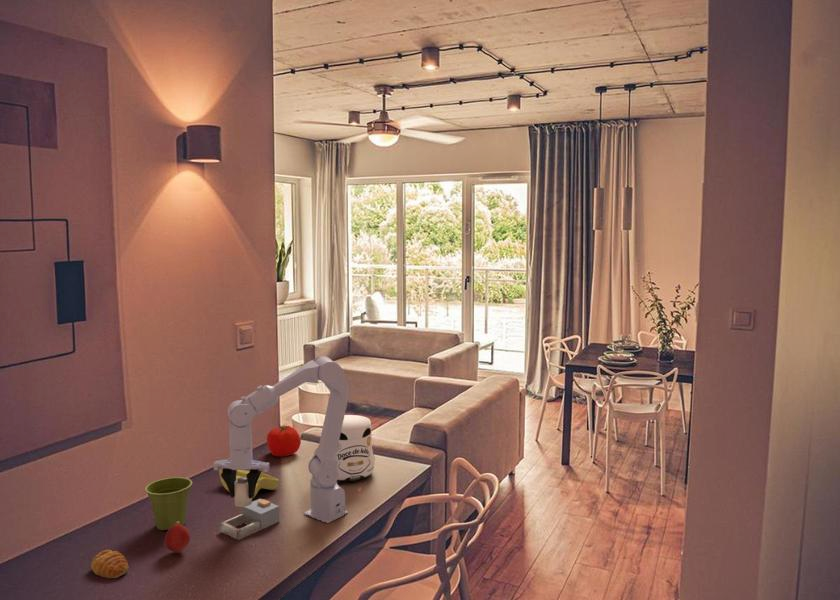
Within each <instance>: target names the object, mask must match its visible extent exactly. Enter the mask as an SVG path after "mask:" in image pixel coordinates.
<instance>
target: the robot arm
mask: <svg viewBox="0 0 840 600" xmlns="http://www.w3.org/2000/svg"><path fill="white" fill-rule="evenodd" d="M319 380H320V381H321V383H323V384H324V385H325V387H326V388H327V389H328V390H329V392H330V393H329V397H328V402H327V406H326V410H325V411H326V412H325V415H324V419H323V423H324V424H323V425H322V429H321V433H320V438H319V444H318V446H317V448H316V449H315V450H314V454H313V456H312V457H311V459H310V460H309V463H308V467H307V468H308V471H309V473H310V474H311V475H312V476H311V480H310V509H309V510H306V511H305V512H304V513H305V514H307V515H306V516H308V515H309V516H308V517H310V516H312V517H311V518H313V517H314V518H313V519H315V518H316V519H315V520H318V521H320V520H321V522H323V523H325V522H326V523H325V524H330V523H332V522H333V521H336V520H337V519H339V518H341V517H343V516H345V515H347V514H348V513H349V512H348V511H347V510H346V492H345V490H344V488H343V487H340V485H338V481H337V479H338V475H339V474H338V469H337V465H338V458H337V448H338V443H339V438H340V434H341V429H342V424H343V420H344V415H346V410H347V405H348V401H349V396H350V392H351V391H350V390H351V389H350V386H349V383H348V380H347V377H346V372H345V370H344V369H343V367H342V366H341V365H340V364H339V363H337V362H336V361H334V360H332V359H331V358H330V357H329V356H326V355H320V356H319V355H318V356H317V357H315V358H314V359H311V360H310V361H309V360H308V361H307V362H306V363H305V364H303V365H302V366H301V367H300V368H298V369H296V370H295V371H293V372H291V373H290V374H289V375H287V376H286V377H284V378H283V379H281V380H280V381H278V382H277V383H275V384H274V385H268V384H265V385H264V386H262V385H261V384H260V385H259V386H257V387H256V390H255V391H253V392H251V393H250V394H248V395H246V396H244V395H243V396H241V398H240V400H238V399H237V400H234V401H232V402H231V403H230V405H229V406H228V408H227V410H226V415H227V417H228V419H229V424H228V426H229V427H228V428H229V430H228V436H229V437H228V439H229V442H228V443H229V459H223V460H224V461H221V460H216V461H215V462H213V471H219V469H222V470H223V471H222V473H221V477H222V478H223V480H224V481H225V483H226V485H227V487H228V490H229V491H228V490H227V491H228V492H229V496H230V498H235V491H234V482H235V481H236V473H237V470H246V471H250V472H249V473H248V474H247V475H246V477H247V481H248V487H249V498H252V497H253V496H254V493H255V488H256V484H257V481H258V478H259V476H260V474H261V472H262V473H268V472H269V471H270V462H267V461H266V462H265V461H259V460H255V459H253V432H252V431H253V430H252V425H251V424H252V421H253V419H254V417H257V416H258V415H260V414H262V413H264V412H265V411H267V410H268V409H271V408H272V407H274V405H276V404H277V403H278V402H279V398H280V397H281V396H283V395H285V394H287V393H289V392H290V391H292V390H294V389H296V388H298V387H299V386H301V385H303V384H305V383H311V384H312V383H313V384H319ZM346 513H347V514H346ZM305 514H304V515H305ZM344 514H345V515H344Z"/></svg>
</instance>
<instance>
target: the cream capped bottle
mask: <svg viewBox="0 0 840 600" xmlns="http://www.w3.org/2000/svg"><path fill="white" fill-rule="evenodd" d="M234 491H235V496H234V506H235V507H238V508H242V507H245V506H249V505H251V504H252V502H253V499H252V498H249V487H248V481H247V477H240V478H238V479H237V480H236V481H235V482H234Z"/></svg>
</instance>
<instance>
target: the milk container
mask: <svg viewBox="0 0 840 600" xmlns="http://www.w3.org/2000/svg"><path fill="white" fill-rule="evenodd" d="M371 421H372V420H371V419H370V418H368V417H366V416H363V415H357V414H356V415H354V414H345V415H344V420H343V424H342V429H341V434H340V438H339V443H338V448H337V458H338V465H337V469H338V474H339V475H338V479H337V482H341V483H342V482H343V483H345V482H346V483H347V482H350V483H351V482H357V481H360V480H361V481H362V480H363V479H366V478H368V477H369V476H370V475H371V474H372V473H373V472H374V469H375V464H376V463H375V461H376V460H375V459H376V458H375V454H374V451H373V447H372V446H373V444H372V443H373V441H372V440H373V439H372V437H373V435H372V428H373V427H372V422H371ZM323 424H324V422H323Z"/></svg>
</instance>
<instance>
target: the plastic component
mask: <svg viewBox="0 0 840 600" xmlns="http://www.w3.org/2000/svg"><path fill="white" fill-rule="evenodd" d="M224 460H225V459H221V460H220V461H224ZM222 471H223V470H222V469H218V475H219V479H220V482H221V485H222V486H223V487H224V489H226V490H227V492H229V490H228V487H227V485H226V483H225V481H224V480H223V478H222V477H221V473H222ZM249 472H250V471H246V470H237V473H236V480H237V479H238V478H240V477H246V475H247V474H248V473H249ZM279 482H280V480H279V479H278V478H277V477H273V476H271V475H269V474H266V473H265V472H263V471H262V472H261V474H260V476H259V478H258V481H257V484H256V488H255V493H254V496H253V497H252V500H253V499H254V498H255V497H256V496H257V494H258V492H260V490H261V489H265V490H270V491H275V490H276V489H277V487H278V484H279Z"/></svg>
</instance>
